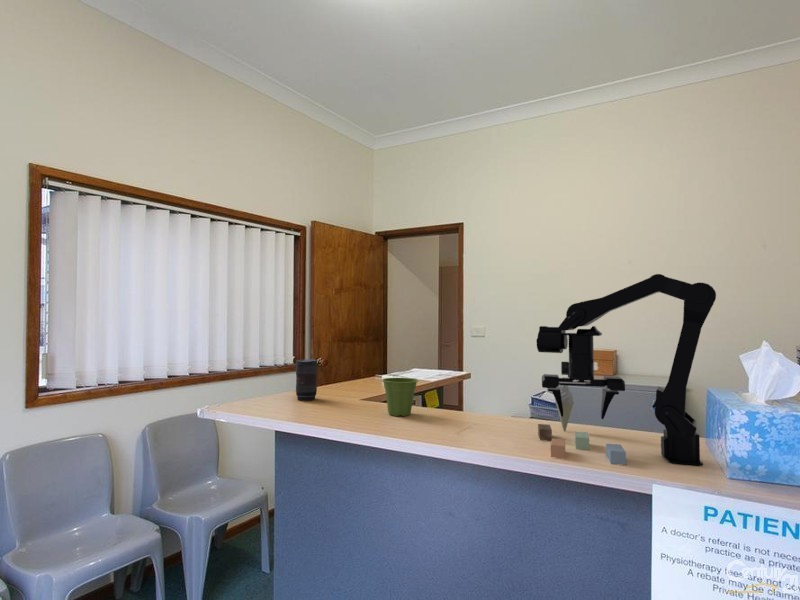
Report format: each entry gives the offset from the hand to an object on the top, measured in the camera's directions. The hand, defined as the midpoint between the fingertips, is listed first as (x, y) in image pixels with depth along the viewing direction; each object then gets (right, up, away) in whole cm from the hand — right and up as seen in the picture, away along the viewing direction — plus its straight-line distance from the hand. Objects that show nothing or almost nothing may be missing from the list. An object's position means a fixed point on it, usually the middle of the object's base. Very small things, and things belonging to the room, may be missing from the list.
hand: (582, 417), depth 113 cm
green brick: (0, -7, 0) cm, 7 cm away
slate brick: (+3, -7, -12) cm, 14 cm away
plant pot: (-45, -9, +36) cm, 58 cm away
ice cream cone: (+1, -8, +15) cm, 17 cm away
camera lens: (-81, -9, +63) cm, 103 cm away
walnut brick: (-7, -8, +8) cm, 13 cm away
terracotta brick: (-8, -7, -7) cm, 13 cm away
